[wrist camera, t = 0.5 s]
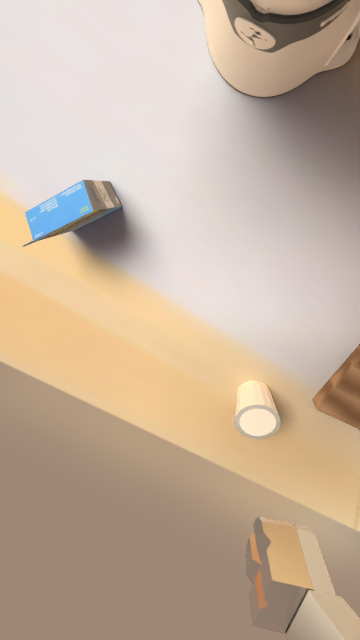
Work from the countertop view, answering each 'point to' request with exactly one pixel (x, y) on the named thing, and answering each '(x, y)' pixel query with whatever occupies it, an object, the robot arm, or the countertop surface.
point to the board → (343, 392)
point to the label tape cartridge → (72, 209)
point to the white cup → (256, 411)
